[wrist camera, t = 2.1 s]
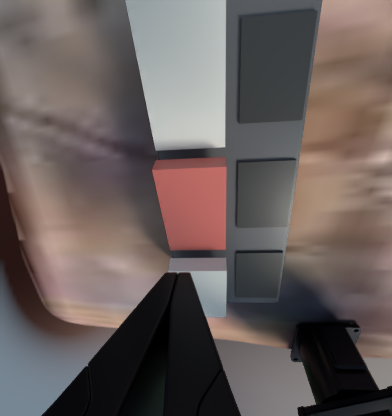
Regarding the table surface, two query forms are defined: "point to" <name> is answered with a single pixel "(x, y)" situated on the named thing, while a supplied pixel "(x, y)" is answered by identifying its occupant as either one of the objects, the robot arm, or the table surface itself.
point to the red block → (193, 202)
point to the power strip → (261, 138)
